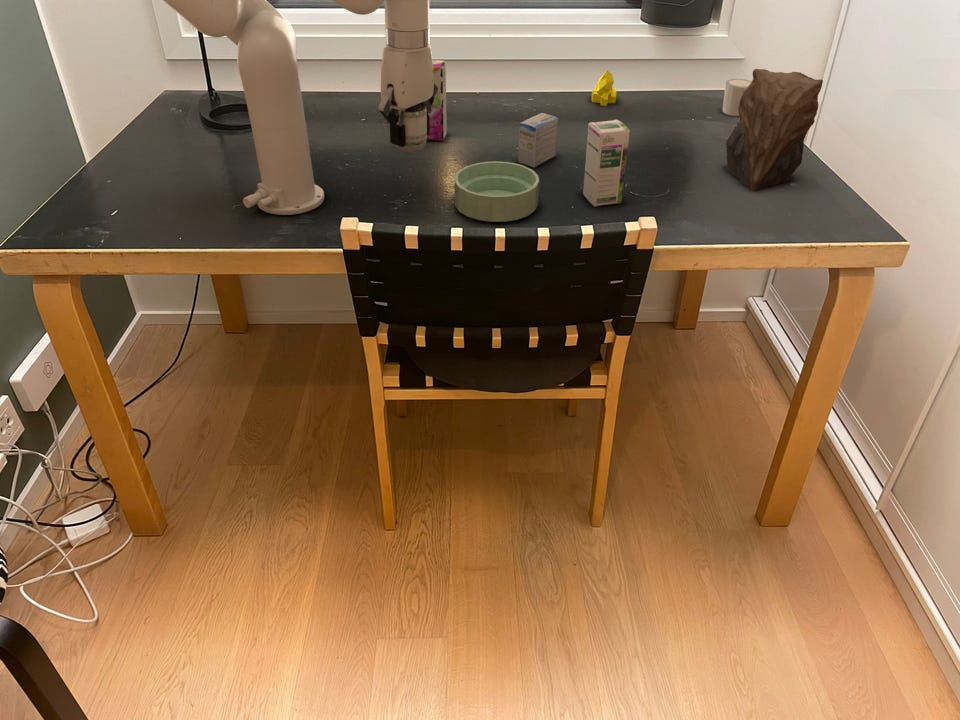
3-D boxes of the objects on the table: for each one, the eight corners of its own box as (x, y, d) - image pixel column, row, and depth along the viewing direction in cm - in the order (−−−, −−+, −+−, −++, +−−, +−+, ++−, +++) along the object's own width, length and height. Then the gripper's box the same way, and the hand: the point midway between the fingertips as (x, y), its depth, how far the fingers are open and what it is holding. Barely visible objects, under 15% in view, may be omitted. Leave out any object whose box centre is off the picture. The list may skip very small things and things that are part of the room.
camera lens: (389, 150, 138) (387, 107, 134) (399, 138, 143) (398, 96, 138) (421, 154, 137) (420, 111, 132) (431, 142, 142) (430, 100, 137)
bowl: (508, 232, 133) (509, 204, 129) (438, 210, 140) (437, 182, 136) (552, 201, 143) (554, 174, 140) (485, 181, 150) (485, 155, 147)
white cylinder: (714, 109, 184) (719, 80, 179) (736, 105, 186) (742, 76, 182) (732, 118, 179) (738, 88, 174) (755, 114, 181) (761, 85, 177)
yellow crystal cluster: (614, 95, 192) (618, 64, 187) (615, 106, 185) (619, 74, 181) (591, 94, 192) (594, 63, 187) (591, 105, 186) (595, 73, 181)
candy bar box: (395, 140, 167) (389, 64, 157) (399, 132, 171) (394, 57, 161) (444, 142, 166) (442, 66, 156) (447, 134, 170) (445, 59, 160)
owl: (718, 166, 156) (739, 67, 144) (772, 160, 159) (796, 62, 147) (750, 191, 147) (775, 87, 135) (807, 184, 149) (836, 82, 137)
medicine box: (539, 151, 162) (541, 112, 157) (556, 156, 160) (559, 116, 155) (517, 163, 157) (518, 122, 152) (534, 168, 155) (536, 127, 150)
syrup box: (593, 207, 141) (601, 132, 132) (581, 194, 145) (588, 120, 137) (621, 203, 142) (631, 129, 133) (608, 190, 147) (617, 117, 138)
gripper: (421, 24, 136) (423, 122, 147) (357, 43, 124) (363, 148, 135) (455, 31, 133) (454, 131, 144) (391, 52, 121) (395, 158, 132)
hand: (410, 138), depth 139 cm, fingers closed on camera lens, 6 cm apart
